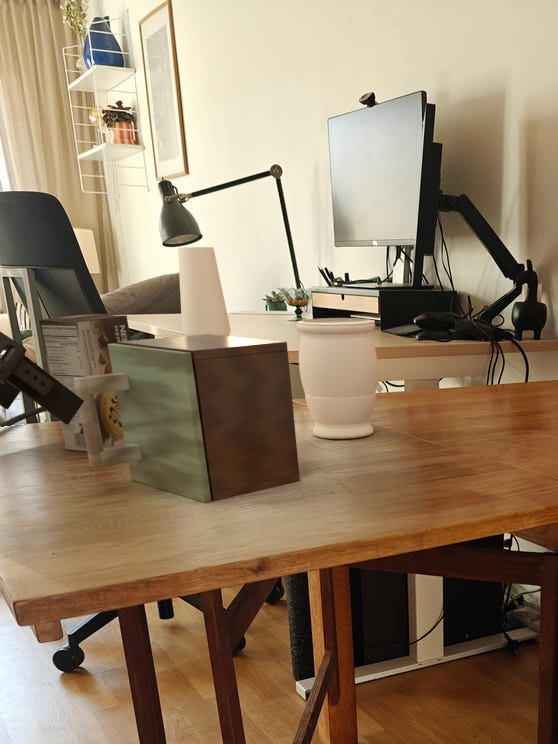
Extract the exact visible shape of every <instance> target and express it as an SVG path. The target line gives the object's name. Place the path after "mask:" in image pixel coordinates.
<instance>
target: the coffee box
mask: <svg viewBox="0 0 558 744" xmlns="http://www.w3.org/2000/svg"><path fill="white" fill-rule="evenodd" d="M128 321H129V320H128V315H121V314H120V315H115V314H107V313H87V314H78V315H69V316H68V315H67V316H60V317H59V316H58V317H51V318H42V319H38V323H39V329H40V333H41V337H42V343H43V347H44V351H45V357H46V361H47V366H48V370H49V374H50V375H51V376H52V377H54V378H55V379H56V380H58V381H59V382H60V383H61V384H63V385H64V386H65V387H67V388H68V389H69V390H71V391H72V392H73V393H74V394H76V390H75V385H74V380H73V378H75V377H83V376H92V375H101V374H111V373H113V372H112V367H111V361H110V355H109V350H108V344H117V342H119V341H132V338H131V333H130V326H129V322H128ZM94 400H95V405H96V410H97V416H98V421H99V427H100V432H101V437H102V443H103V448H107V447H113V446H119V445H125V441H124V435H123V429H122V423H121V418H120V412H119V406H118V401H117V395H116V391H113V392H105V393H97V394H94ZM59 423H60V428H61V433H62V438H63V441H64V447H65V450H68V451H78V452H87V447H86V442H85V437H84V431H83V426H82V421H81V416H80V411H79V410H78V411H77V413H76V414H75V416H74V417H73V419H72V420H71V421H70V423H69V424H64V423H63V422H62V421H60V420H59Z"/></svg>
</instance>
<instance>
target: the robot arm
mask: <svg viewBox="0 0 558 744" xmlns="http://www.w3.org/2000/svg"><path fill="white" fill-rule="evenodd" d="M4 351H5V352H4ZM27 351H28V350H27V348H26V347H25V345H23V344H22V343H20V342H17V341H15V340H14V339H12V338H11V337H10V336H8V335H6V334H5V333H4V332H1V331H0V355H1V354H2V353H3V352H4V354H3V355H2V356H1V357H0V407H1V408H3V409H4V410H9V409H10V407H11V406H12V405H13V403H14V402H15V401H16V399H17V397H18V396H19V395H20V393H22V394H23V395H25V396H26V397H27V398H29V399H30V400H31V401H32V402H34V403H36V405H38V406H40V407H37V408H33V409H31V410H28V411H25V412H22V413H20V414H18V415H15V416H13V417H11V418H9V419H8V420H6V421H3V422H2V423H0V426H1V427H4V426H10V427H11V426H14V425H15V424H17V423H19V422H22V421H24V420H27V419H28V418H30V417H33V416H36V415H39V414H41V413H45V412H48V413H49V414H51V415H52V416H53V417H55V418H56V419H57V420H59V422H60V421H62V422H63V423H64V424H69V423H70V421H71V420H72V419H73V417H74V416H75V414H76V413H77V411H78V410H79V408H80V407H81V405H82V404H83V402H84V400H82V399H81V398H80V397H78V396H77V395H76V394H74V393H73V392H72V391H71V390H69V389H68V388H67V387H65V386H64V385H63V384H61V383H60V382H59V381H58V380H56V379H55V378H54V377H52V376H51V375H50V372H47V371H46V370H45V369H43V368H42V367H41V366H40V365H38V364H37V363H36V362H34V361H33V360H32V359H30V358H29V357H28V356H27V355H26V353H27Z"/></svg>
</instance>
